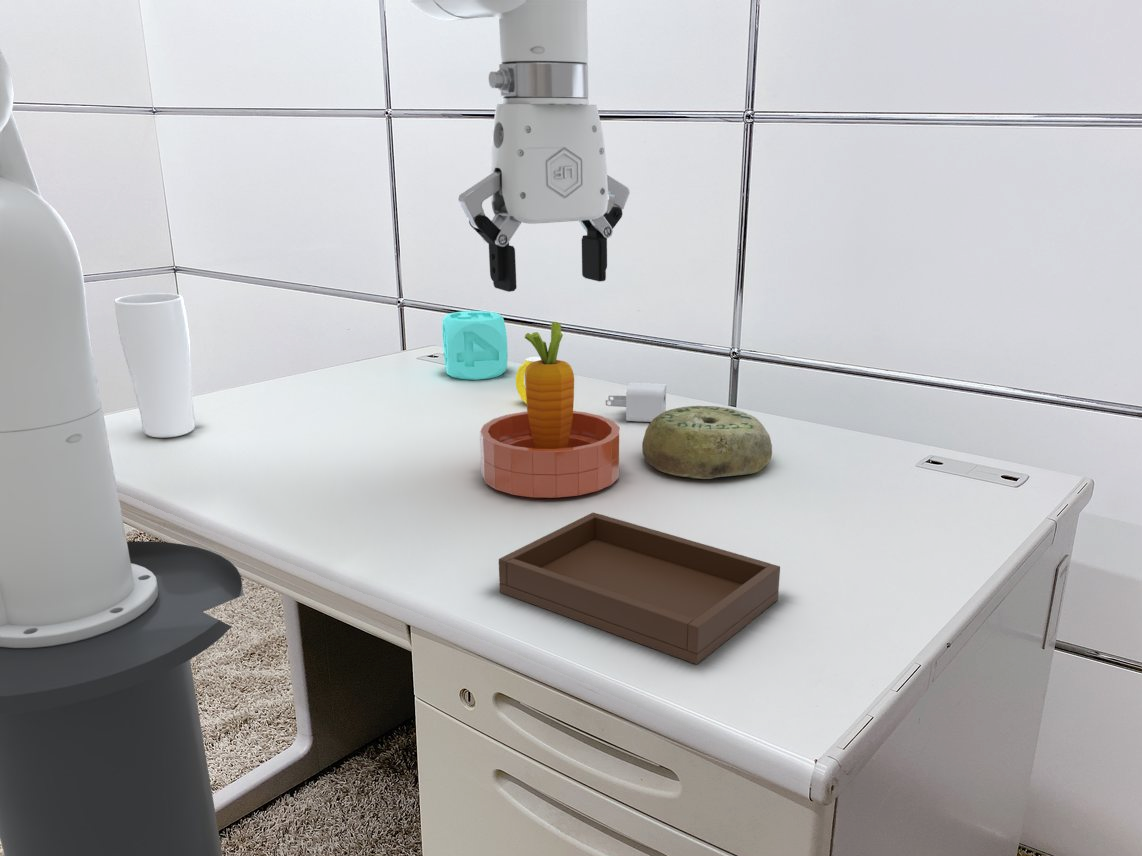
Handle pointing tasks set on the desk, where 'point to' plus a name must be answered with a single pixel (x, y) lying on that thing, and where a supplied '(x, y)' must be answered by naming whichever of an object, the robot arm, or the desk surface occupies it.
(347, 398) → the desk surface
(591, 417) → the bowl
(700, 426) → the weight
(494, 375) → the decorative dice
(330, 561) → the desk surface
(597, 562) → the tray
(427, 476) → the desk surface
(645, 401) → the usb wall charger
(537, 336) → the carrot
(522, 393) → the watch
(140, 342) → the drinking glass
